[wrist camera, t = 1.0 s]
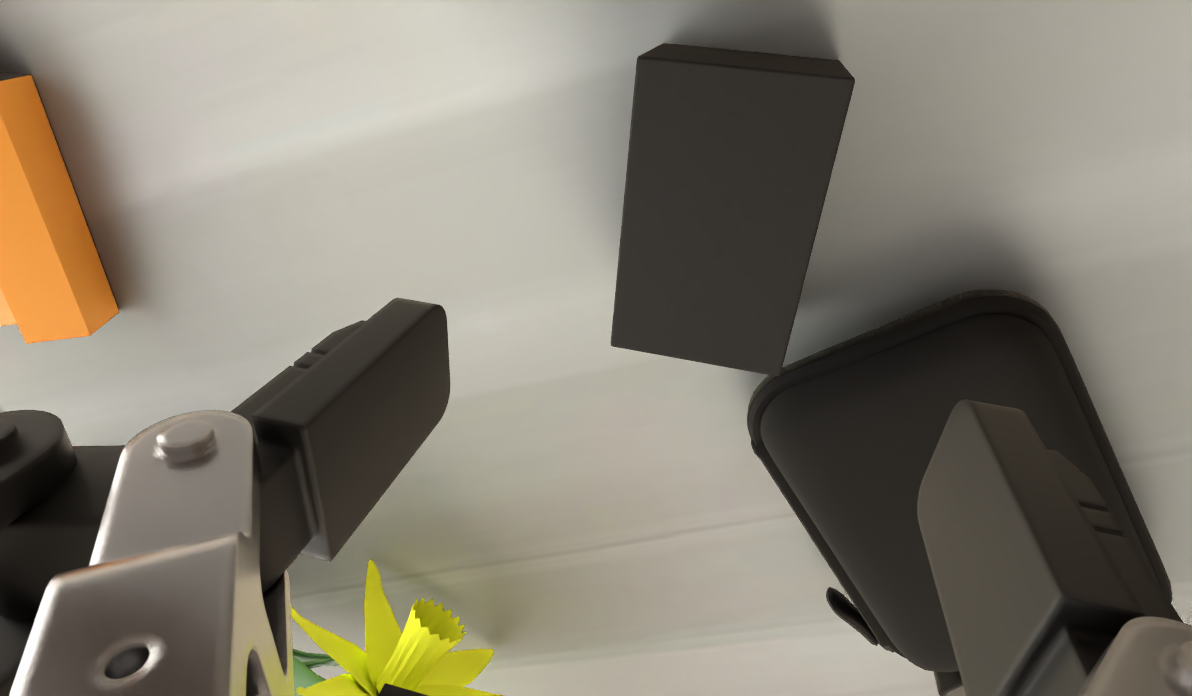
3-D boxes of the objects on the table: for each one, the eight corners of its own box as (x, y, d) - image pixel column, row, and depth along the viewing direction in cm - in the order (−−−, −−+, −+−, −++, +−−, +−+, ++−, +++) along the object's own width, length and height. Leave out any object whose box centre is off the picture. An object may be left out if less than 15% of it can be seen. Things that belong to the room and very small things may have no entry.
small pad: (662, 42, 19) (636, 55, 15) (840, 60, 18) (856, 78, 14) (634, 292, 23) (610, 346, 19) (779, 316, 22) (779, 377, 18)
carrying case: (700, 382, 24) (871, 639, 28) (692, 431, 21) (881, 706, 26) (1015, 247, 19) (1162, 582, 23) (1052, 289, 16) (1210, 656, 21)
